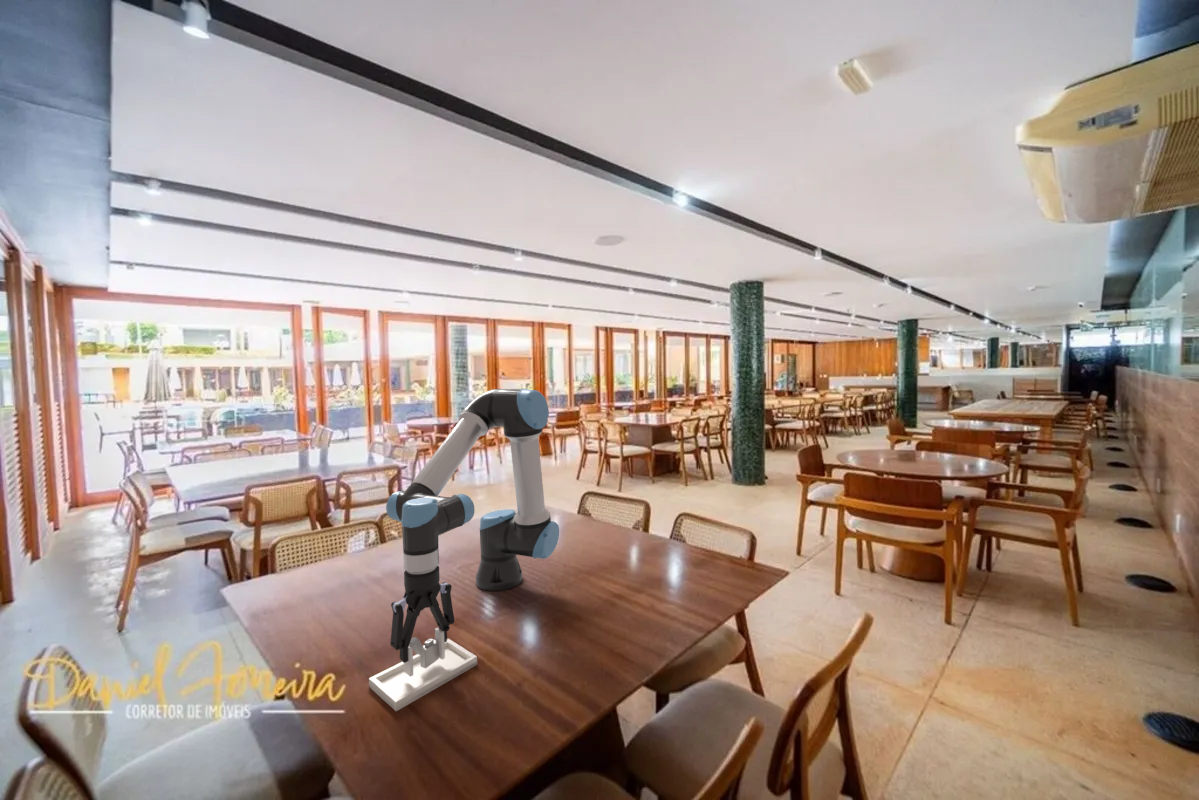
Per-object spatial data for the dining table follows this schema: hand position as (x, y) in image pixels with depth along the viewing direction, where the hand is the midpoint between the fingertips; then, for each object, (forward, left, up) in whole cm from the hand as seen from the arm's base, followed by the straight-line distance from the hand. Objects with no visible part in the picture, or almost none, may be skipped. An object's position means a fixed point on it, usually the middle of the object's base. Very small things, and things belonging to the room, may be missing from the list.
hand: (425, 664), depth 109 cm
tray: (0, 0, -2) cm, 2 cm away
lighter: (0, 0, 0) cm, 0 cm away
